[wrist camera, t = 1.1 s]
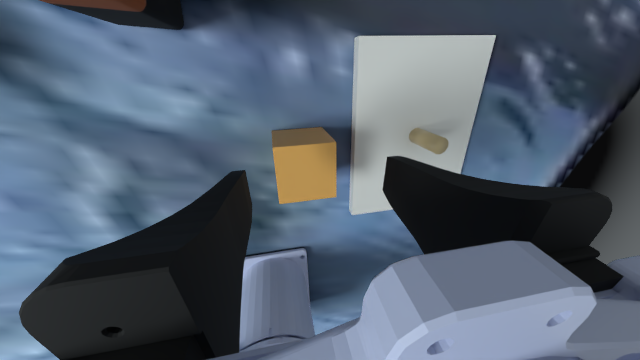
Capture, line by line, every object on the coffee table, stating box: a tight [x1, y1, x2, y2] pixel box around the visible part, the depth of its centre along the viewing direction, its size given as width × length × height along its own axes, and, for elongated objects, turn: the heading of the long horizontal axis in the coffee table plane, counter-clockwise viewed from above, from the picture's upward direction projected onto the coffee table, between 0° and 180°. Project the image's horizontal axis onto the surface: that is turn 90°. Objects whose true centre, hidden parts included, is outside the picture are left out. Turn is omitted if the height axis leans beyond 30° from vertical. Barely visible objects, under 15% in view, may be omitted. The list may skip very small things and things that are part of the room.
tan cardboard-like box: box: [272, 127, 336, 204], centre depth 19 cm, size 4×4×5 cm
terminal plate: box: [349, 35, 496, 215], centre depth 20 cm, size 16×12×4 cm
